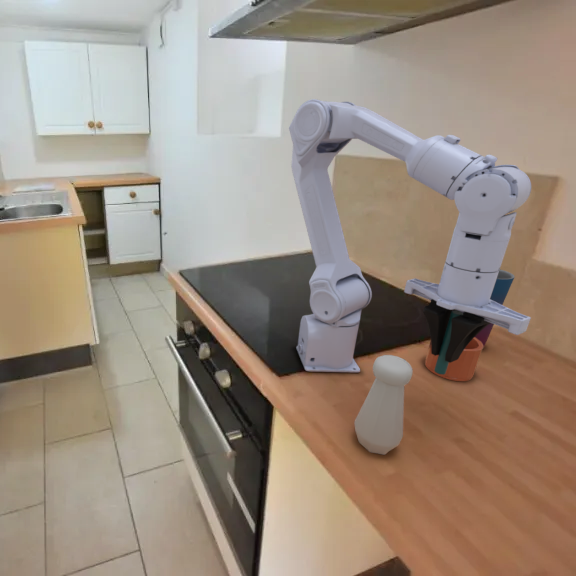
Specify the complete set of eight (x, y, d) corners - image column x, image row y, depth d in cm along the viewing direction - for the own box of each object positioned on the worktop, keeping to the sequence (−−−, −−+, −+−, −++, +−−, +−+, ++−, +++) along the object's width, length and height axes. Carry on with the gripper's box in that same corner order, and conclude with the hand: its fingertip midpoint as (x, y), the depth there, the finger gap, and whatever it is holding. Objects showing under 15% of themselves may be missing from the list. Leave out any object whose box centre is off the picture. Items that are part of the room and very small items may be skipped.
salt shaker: (375, 465, 48) (397, 379, 43) (342, 434, 52) (357, 354, 48) (408, 451, 50) (432, 368, 45) (373, 422, 55) (391, 344, 50)
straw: (437, 374, 54) (455, 315, 50) (432, 368, 55) (449, 310, 52) (447, 374, 54) (466, 315, 50) (442, 369, 55) (459, 310, 52)
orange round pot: (438, 380, 64) (448, 350, 61) (417, 357, 70) (424, 328, 68) (482, 381, 64) (493, 351, 61) (456, 358, 70) (465, 329, 68)
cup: (476, 335, 78) (498, 266, 72) (497, 353, 71) (524, 279, 66) (441, 334, 78) (461, 265, 73) (459, 351, 72) (482, 278, 66)
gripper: (399, 254, 53) (380, 339, 58) (522, 290, 41) (484, 393, 46) (430, 247, 56) (410, 329, 61) (553, 279, 44) (515, 377, 49)
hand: (444, 356), depth 54 cm, fingers closed on straw, 1 cm apart
